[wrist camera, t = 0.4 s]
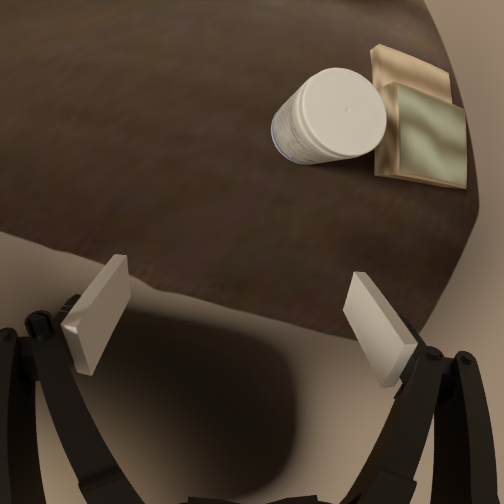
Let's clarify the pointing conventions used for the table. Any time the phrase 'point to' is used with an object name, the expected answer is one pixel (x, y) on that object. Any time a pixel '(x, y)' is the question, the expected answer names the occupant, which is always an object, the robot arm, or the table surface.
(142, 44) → the table surface
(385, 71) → the birch riser
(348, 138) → the supplement tub
